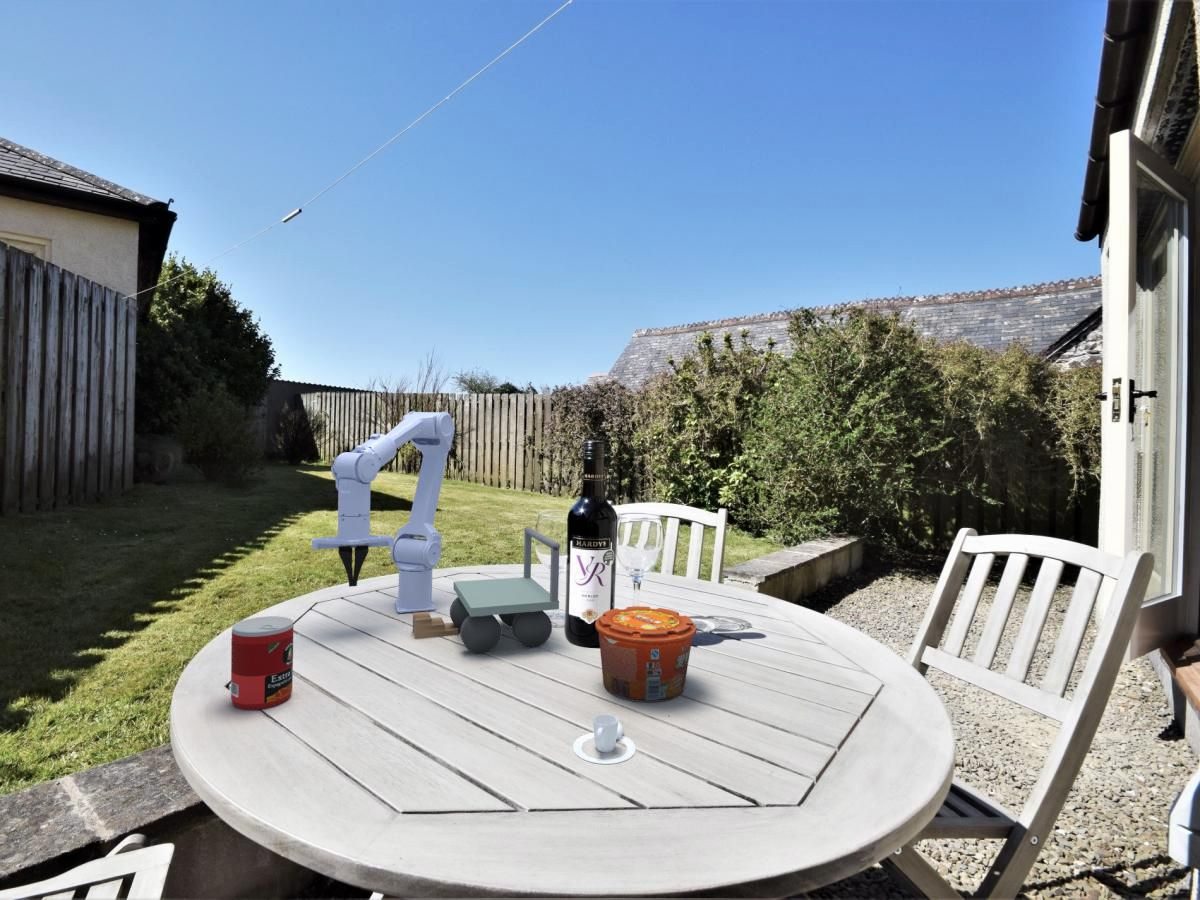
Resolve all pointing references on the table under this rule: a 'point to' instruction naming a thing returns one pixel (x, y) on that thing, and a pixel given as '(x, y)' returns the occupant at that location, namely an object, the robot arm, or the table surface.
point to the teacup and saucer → (605, 739)
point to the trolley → (507, 604)
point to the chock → (431, 626)
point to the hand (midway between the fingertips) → (352, 585)
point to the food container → (644, 652)
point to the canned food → (261, 662)
